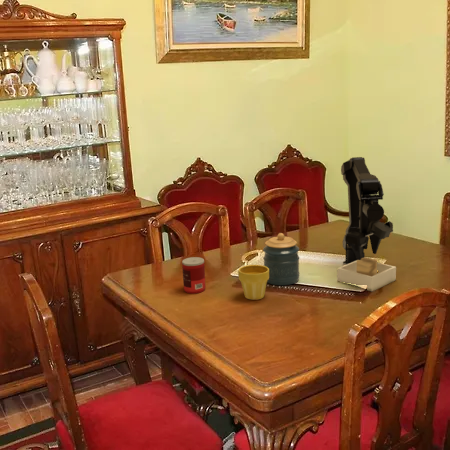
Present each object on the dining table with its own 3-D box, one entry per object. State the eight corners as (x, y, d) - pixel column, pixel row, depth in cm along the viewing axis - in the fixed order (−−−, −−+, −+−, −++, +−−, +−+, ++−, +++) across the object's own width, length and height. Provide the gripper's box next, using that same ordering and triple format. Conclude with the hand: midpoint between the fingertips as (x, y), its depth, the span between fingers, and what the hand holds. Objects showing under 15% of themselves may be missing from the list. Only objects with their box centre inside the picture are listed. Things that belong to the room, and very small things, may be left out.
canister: (306, 278, 214) (306, 232, 210) (285, 288, 205) (284, 240, 201) (278, 271, 223) (277, 226, 218) (256, 280, 214) (255, 234, 209)
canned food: (208, 286, 210) (207, 257, 207) (200, 294, 203) (199, 264, 200) (189, 285, 213) (187, 256, 210) (180, 293, 205) (178, 263, 203)
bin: (337, 281, 210) (337, 268, 209) (361, 271, 219) (361, 258, 218) (371, 291, 199) (372, 277, 198) (395, 280, 209) (396, 266, 207)
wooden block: (368, 282, 206) (368, 263, 204) (356, 278, 209) (356, 260, 207) (376, 278, 209) (376, 259, 207) (364, 275, 212) (365, 256, 211)
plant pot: (253, 288, 207) (252, 262, 204) (275, 295, 200) (275, 268, 197) (233, 297, 200) (231, 269, 197) (255, 304, 193) (254, 276, 190)
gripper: (372, 223, 191) (371, 268, 195) (403, 212, 203) (401, 255, 207) (344, 217, 199) (343, 261, 203) (375, 207, 211) (374, 249, 215)
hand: (367, 256), depth 207 cm, fingers open, 9 cm apart
